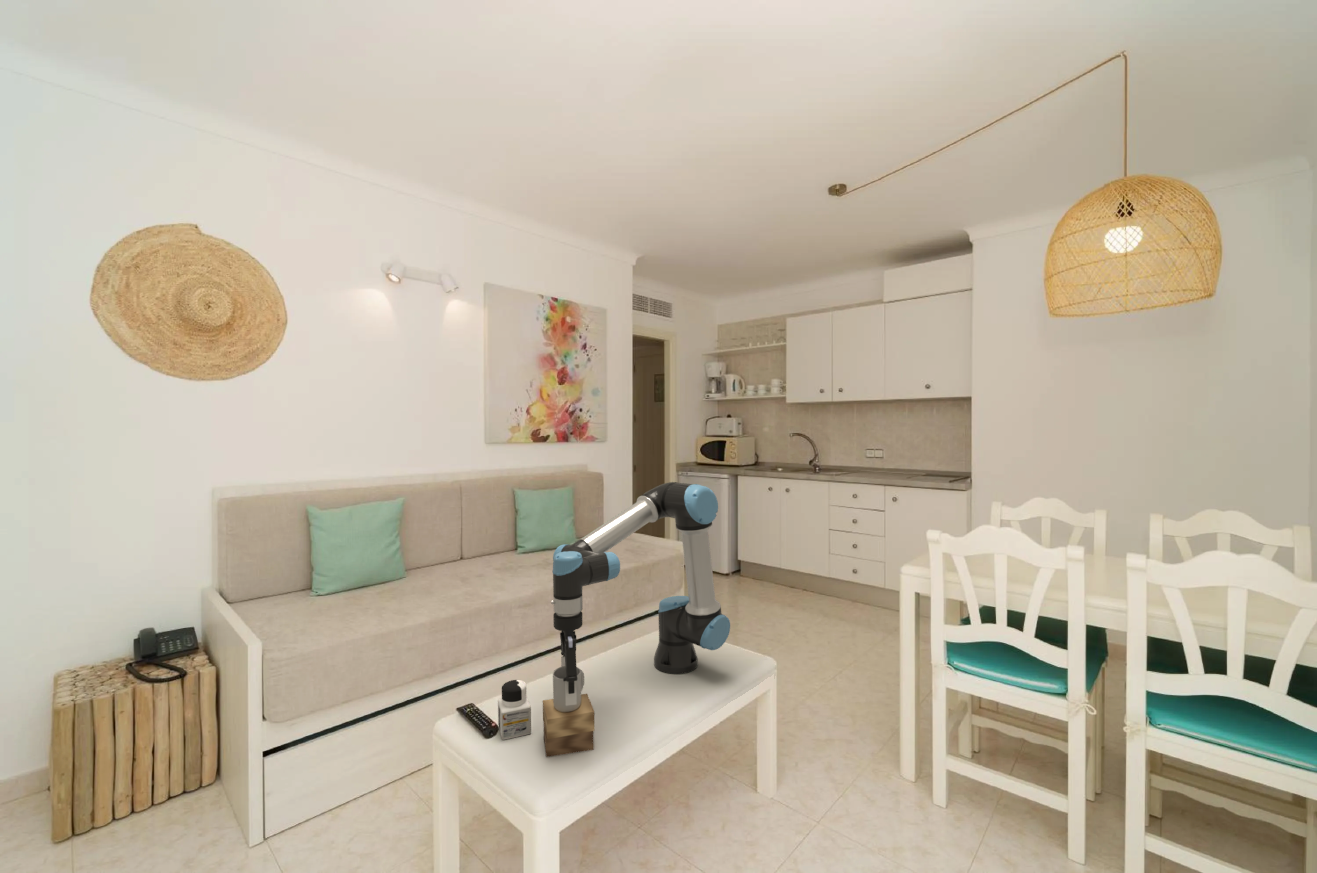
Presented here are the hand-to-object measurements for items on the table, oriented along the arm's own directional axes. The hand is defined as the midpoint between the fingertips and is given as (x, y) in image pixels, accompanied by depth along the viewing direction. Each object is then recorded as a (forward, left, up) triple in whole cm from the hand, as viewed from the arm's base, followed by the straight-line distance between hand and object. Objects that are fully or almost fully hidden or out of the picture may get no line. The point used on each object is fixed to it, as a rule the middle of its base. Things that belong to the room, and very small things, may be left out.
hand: (568, 691), depth 146 cm
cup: (-1, 0, -3) cm, 3 cm away
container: (+14, -9, -13) cm, 21 cm away
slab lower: (0, 0, -13) cm, 14 cm away
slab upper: (0, +1, -8) cm, 9 cm away
